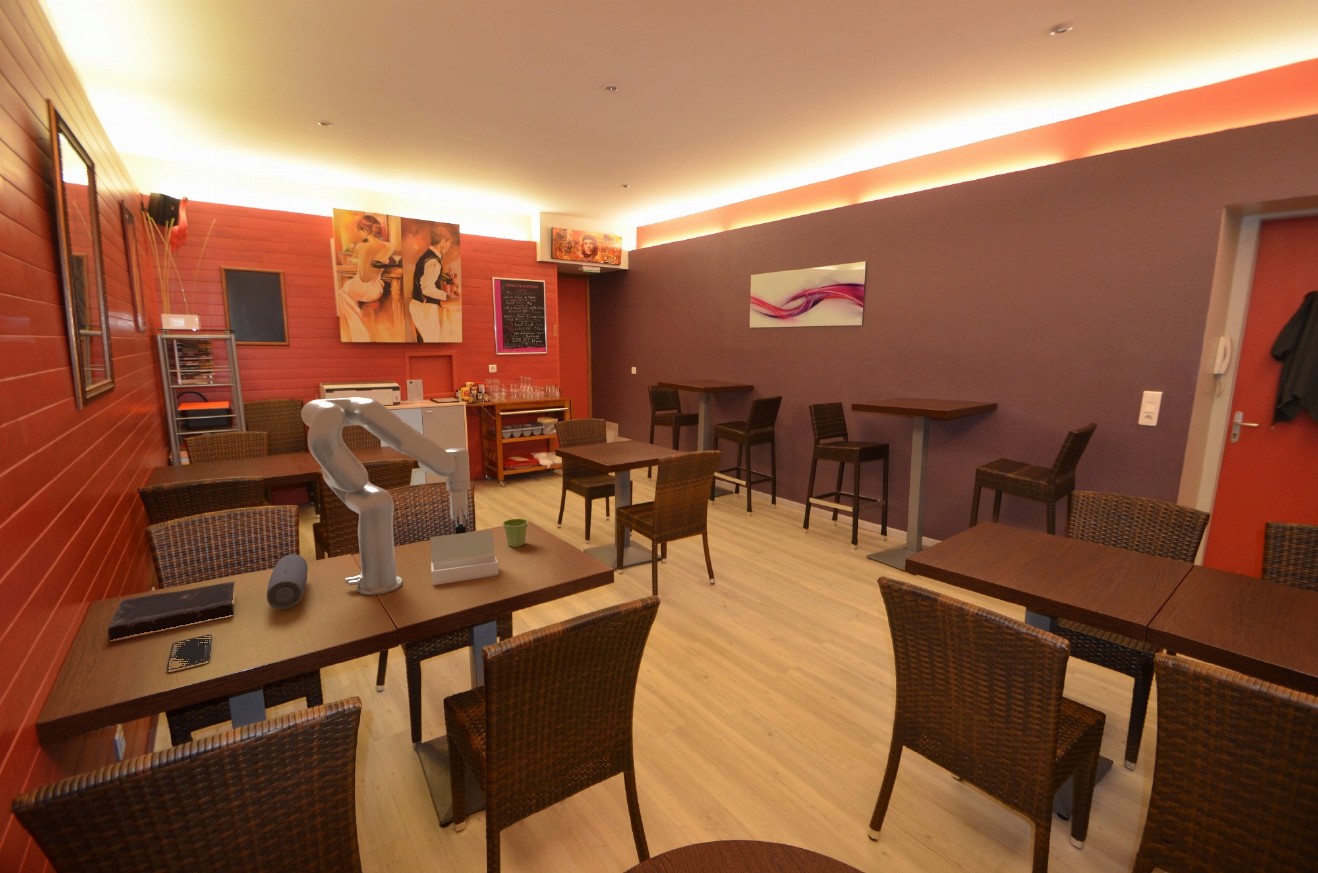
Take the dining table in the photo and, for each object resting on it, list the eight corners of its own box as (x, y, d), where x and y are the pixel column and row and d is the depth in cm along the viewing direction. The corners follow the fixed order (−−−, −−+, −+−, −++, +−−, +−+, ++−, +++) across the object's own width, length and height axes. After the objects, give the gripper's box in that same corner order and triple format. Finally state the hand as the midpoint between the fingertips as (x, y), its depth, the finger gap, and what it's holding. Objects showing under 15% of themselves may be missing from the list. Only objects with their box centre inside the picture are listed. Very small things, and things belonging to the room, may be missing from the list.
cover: (430, 537, 185) (430, 537, 186) (431, 562, 184) (431, 562, 184) (492, 529, 193) (492, 529, 193) (494, 553, 191) (494, 553, 192)
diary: (233, 619, 156) (231, 602, 155) (109, 646, 142) (106, 628, 142) (236, 594, 171) (234, 578, 171) (124, 615, 158) (122, 598, 157)
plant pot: (502, 541, 216) (502, 519, 215) (528, 539, 219) (527, 517, 218) (503, 550, 208) (503, 527, 206) (530, 547, 210) (529, 525, 209)
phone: (166, 671, 129) (172, 642, 141) (166, 675, 130) (173, 646, 142) (210, 660, 134) (212, 633, 146) (210, 664, 134) (213, 637, 146)
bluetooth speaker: (306, 609, 161) (302, 576, 159) (266, 617, 156) (262, 582, 155) (311, 580, 181) (308, 550, 179) (276, 585, 176) (272, 555, 175)
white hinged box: (432, 585, 177) (431, 571, 176) (431, 575, 184) (431, 562, 184) (498, 575, 185) (498, 562, 184) (495, 566, 192) (494, 553, 191)
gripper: (445, 480, 197) (447, 531, 200) (447, 491, 183) (450, 545, 186) (467, 478, 200) (470, 529, 203) (472, 488, 186) (474, 542, 189)
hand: (460, 536), depth 195 cm, fingers closed
